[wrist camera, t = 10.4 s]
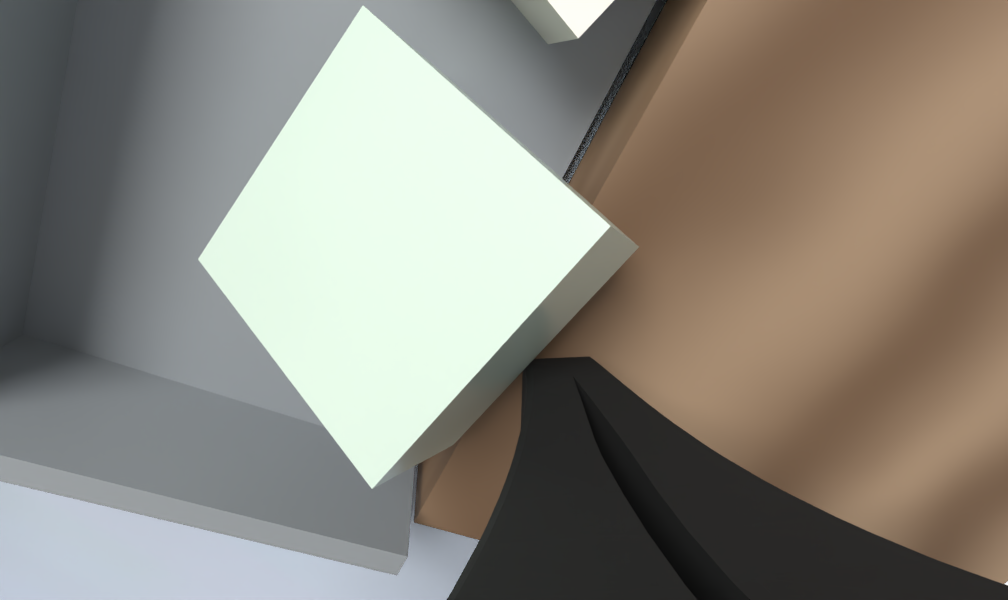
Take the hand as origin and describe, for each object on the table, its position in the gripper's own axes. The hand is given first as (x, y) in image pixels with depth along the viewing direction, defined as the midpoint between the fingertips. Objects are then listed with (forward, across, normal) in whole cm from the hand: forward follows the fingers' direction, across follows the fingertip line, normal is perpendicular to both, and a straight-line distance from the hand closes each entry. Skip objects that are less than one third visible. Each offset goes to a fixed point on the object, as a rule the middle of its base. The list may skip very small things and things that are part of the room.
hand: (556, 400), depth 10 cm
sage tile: (+1, +2, -3) cm, 4 cm away
